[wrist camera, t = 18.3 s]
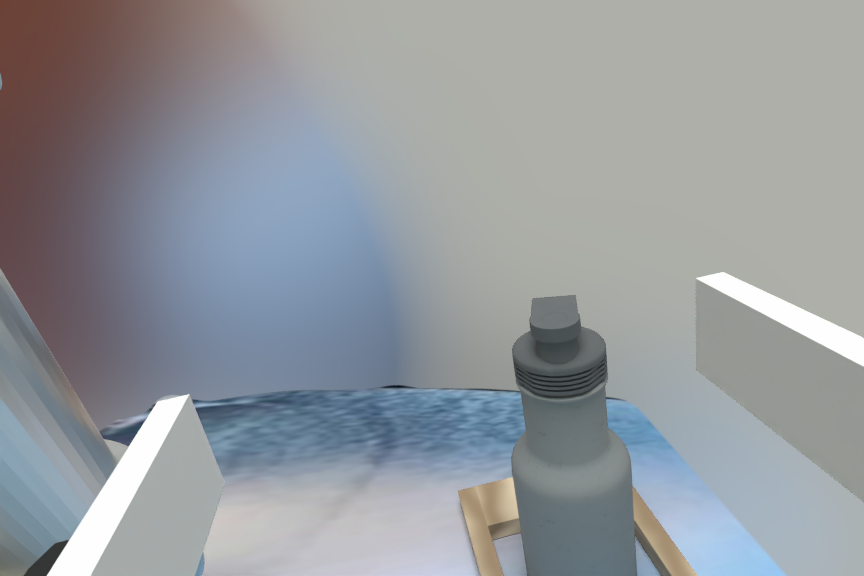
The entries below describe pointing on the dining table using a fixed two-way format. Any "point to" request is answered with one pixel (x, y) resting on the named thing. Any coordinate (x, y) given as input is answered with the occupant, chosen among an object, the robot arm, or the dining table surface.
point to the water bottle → (569, 451)
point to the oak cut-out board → (498, 517)
